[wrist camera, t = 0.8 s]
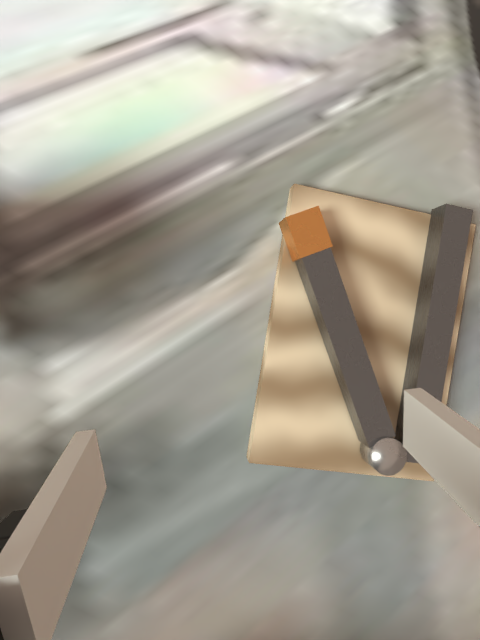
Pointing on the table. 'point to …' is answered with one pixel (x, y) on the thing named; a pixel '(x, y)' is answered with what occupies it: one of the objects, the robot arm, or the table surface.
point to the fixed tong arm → (436, 305)
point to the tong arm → (343, 339)
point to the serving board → (374, 325)
